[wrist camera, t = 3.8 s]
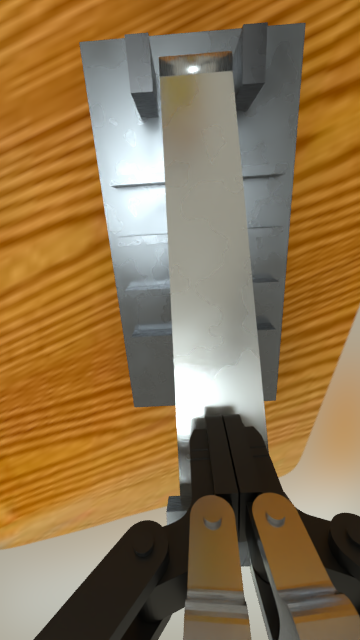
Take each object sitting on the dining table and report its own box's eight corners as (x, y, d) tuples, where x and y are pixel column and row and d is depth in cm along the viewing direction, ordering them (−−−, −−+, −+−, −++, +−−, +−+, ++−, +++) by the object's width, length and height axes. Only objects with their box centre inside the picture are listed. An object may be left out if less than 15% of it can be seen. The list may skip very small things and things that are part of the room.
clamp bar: (235, 72, 16) (243, 21, 14) (278, 524, 13) (300, 564, 10) (153, 79, 16) (146, 29, 14) (173, 527, 13) (169, 568, 10)
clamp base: (292, 42, 18) (342, -35, 13) (269, 388, 28) (291, 430, 23) (89, 59, 19) (50, -8, 13) (137, 394, 29) (126, 437, 23)
